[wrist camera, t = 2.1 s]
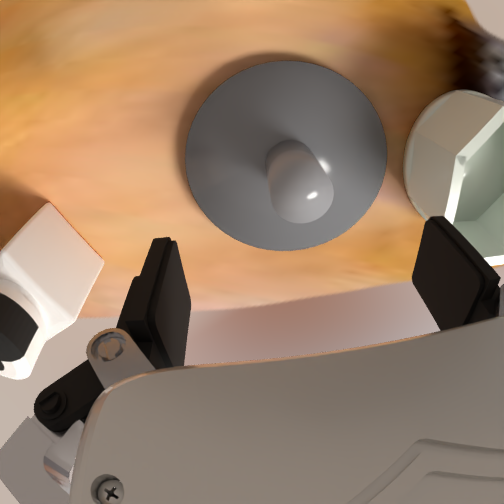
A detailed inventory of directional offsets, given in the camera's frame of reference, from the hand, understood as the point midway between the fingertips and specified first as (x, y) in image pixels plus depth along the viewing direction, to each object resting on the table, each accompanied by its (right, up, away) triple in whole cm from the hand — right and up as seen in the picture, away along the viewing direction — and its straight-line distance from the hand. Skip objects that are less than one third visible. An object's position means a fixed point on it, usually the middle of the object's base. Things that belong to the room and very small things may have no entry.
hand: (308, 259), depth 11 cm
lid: (0, +6, +9) cm, 11 cm away
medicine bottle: (-19, 0, +13) cm, 23 cm away
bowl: (+14, +7, +9) cm, 18 cm away
